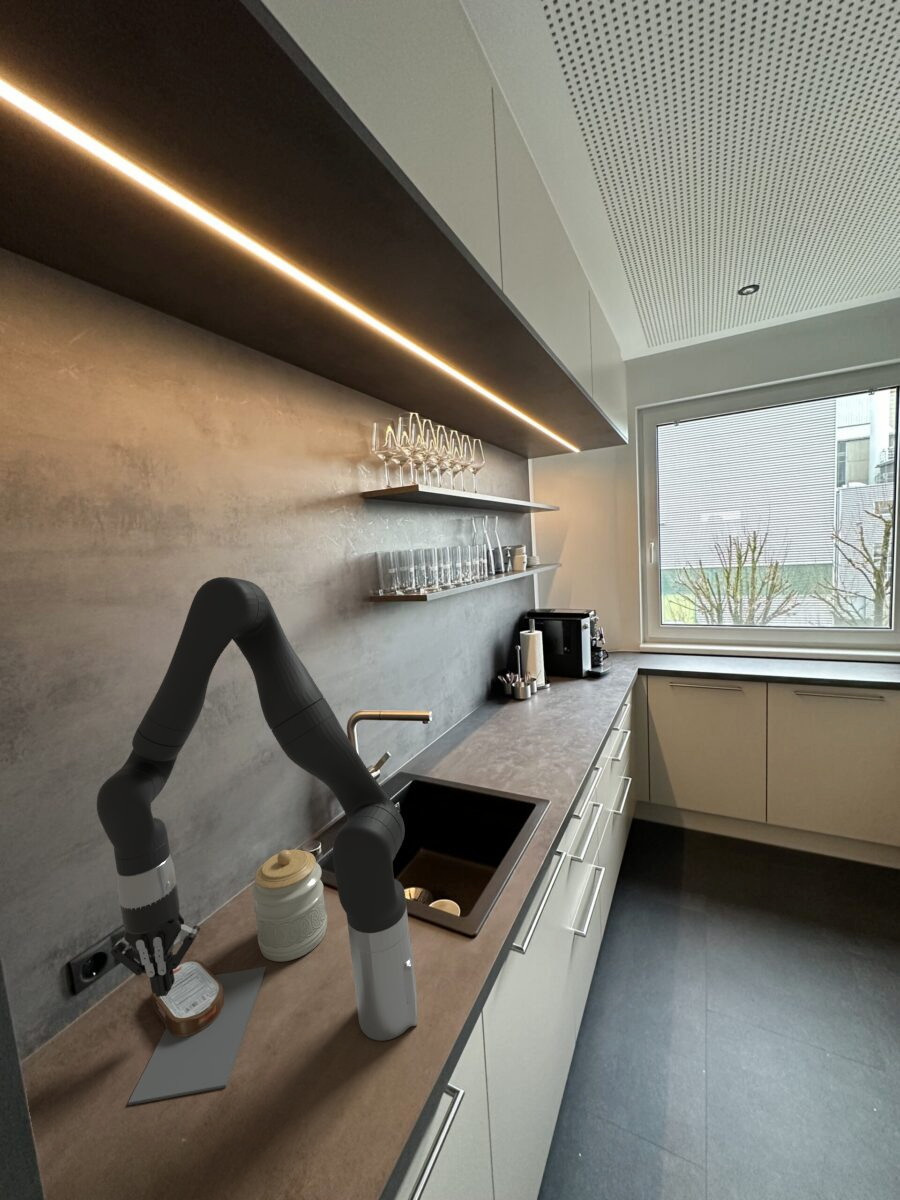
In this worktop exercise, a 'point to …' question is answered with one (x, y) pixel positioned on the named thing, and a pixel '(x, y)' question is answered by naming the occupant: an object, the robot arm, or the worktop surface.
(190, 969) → the tin
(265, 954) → the jar
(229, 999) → the mat
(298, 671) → the robot arm
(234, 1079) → the worktop surface
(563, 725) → the worktop surface
